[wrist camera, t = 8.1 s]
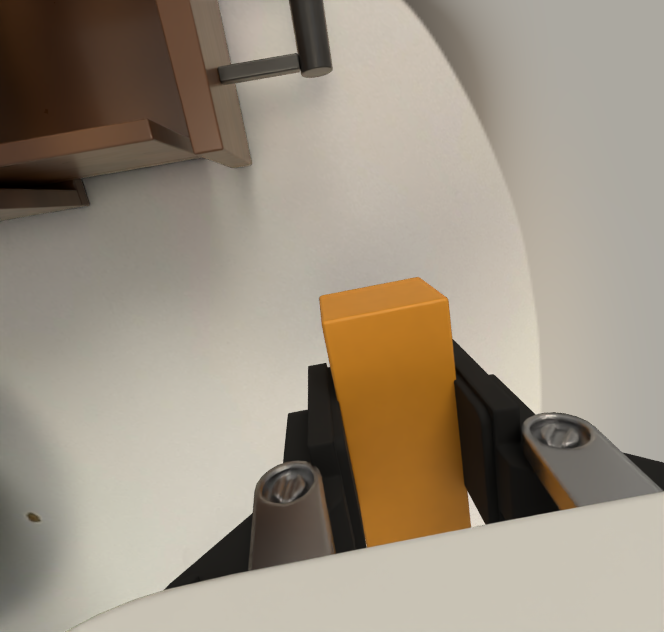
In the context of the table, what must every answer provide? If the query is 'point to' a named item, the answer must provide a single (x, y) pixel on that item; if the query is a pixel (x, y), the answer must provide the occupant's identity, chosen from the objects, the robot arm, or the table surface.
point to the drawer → (129, 85)
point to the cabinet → (42, 199)
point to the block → (398, 407)
